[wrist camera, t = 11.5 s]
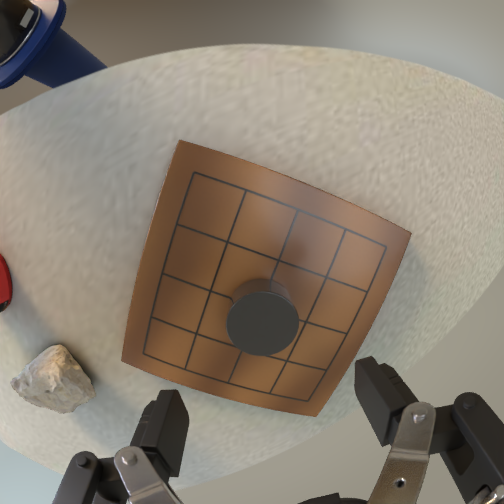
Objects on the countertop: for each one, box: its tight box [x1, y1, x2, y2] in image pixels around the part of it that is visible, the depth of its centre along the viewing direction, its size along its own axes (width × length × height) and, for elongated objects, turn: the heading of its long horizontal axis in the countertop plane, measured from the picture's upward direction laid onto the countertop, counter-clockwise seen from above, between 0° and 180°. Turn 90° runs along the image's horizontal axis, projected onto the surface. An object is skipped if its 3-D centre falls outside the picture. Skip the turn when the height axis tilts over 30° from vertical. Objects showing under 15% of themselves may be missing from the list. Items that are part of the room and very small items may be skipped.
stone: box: [10, 345, 96, 414], centre depth 21 cm, size 8×12×10 cm
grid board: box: [121, 140, 412, 417], centre depth 22 cm, size 20×20×2 cm
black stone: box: [226, 278, 299, 356], centre depth 20 cm, size 5×5×3 cm
